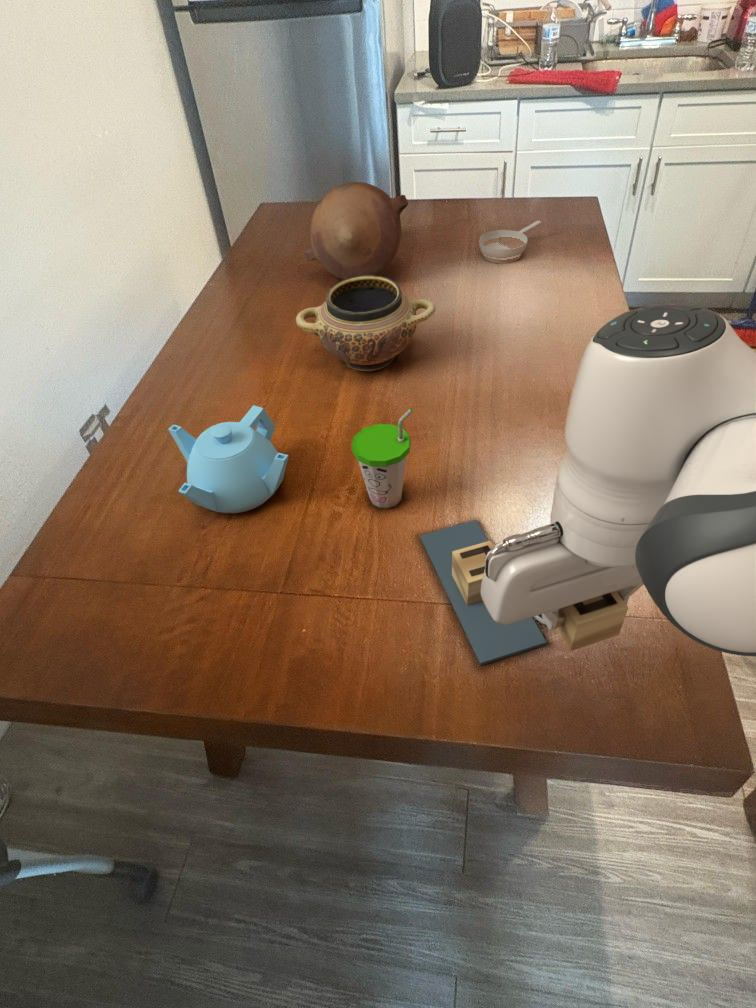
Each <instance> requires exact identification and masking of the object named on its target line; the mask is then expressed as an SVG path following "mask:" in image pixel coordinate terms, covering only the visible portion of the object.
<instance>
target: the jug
mask: <svg viewBox="0 0 756 1008" xmlns="http://www.w3.org/2000/svg"><path fill="white" fill-rule="evenodd" d="M408 205H409V201H408V198H407V197H406V194H400V195H398V196H396V197H391V196H390V195H389V194H388V193H386V191H384V190H383V189H382V188H381V187H378V186H376V185H373V184H371V183H368V182H364V181H347V182H344V183H341V184H338V185H336V186H335V187H333V188H331V189H330V190H329V191H328V192H326V194H324V195H323V197H322V198H321V200H320V202H319V203H318V204H317V206H316V208H315V209H314V212H313V214H312V218H311V223H310V243H311V244H310V246H309V248H308V249H307V250H304V254H305V258H306V259H307V262H312V261H317V262H318V263H320V265H321V266H322V267H323V268H324V269H325V270H326V271H327V272H328V273H329V274H330V275H332V276H333V277H335V278H337V279H339V280H340V281H343V280H345V279H349V278H352V277H357V276H363V275H374V276H382V275H383V274H384V273H385V272H386V271H388V269H389V268H390V267H391V265H392V264H393V262H394V260H395V258H396V256H397V253H398V251H399V249H400V245H401V241H402V222H401V214H402V212H403V211H404V210H405V209H406V208H407V207H408Z"/></svg>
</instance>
